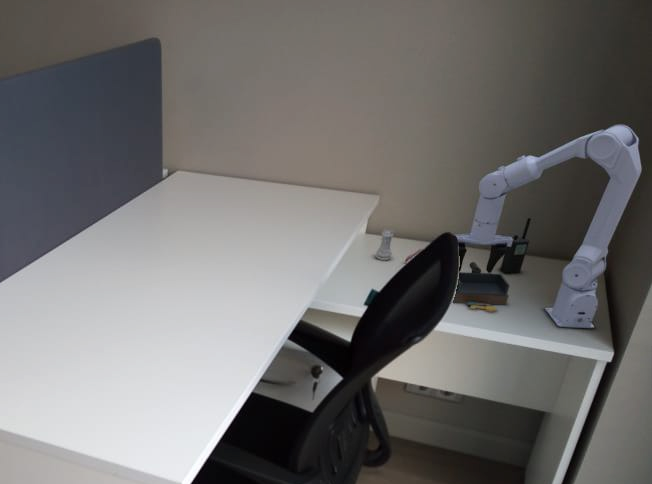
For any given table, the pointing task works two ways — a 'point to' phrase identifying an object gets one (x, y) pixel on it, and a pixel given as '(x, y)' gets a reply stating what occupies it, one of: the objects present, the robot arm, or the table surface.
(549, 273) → the table surface
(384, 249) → the rook chess piece
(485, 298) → the stand
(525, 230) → the walkie-talkie
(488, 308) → the brass key
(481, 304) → the teal key
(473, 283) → the dark grey tray
